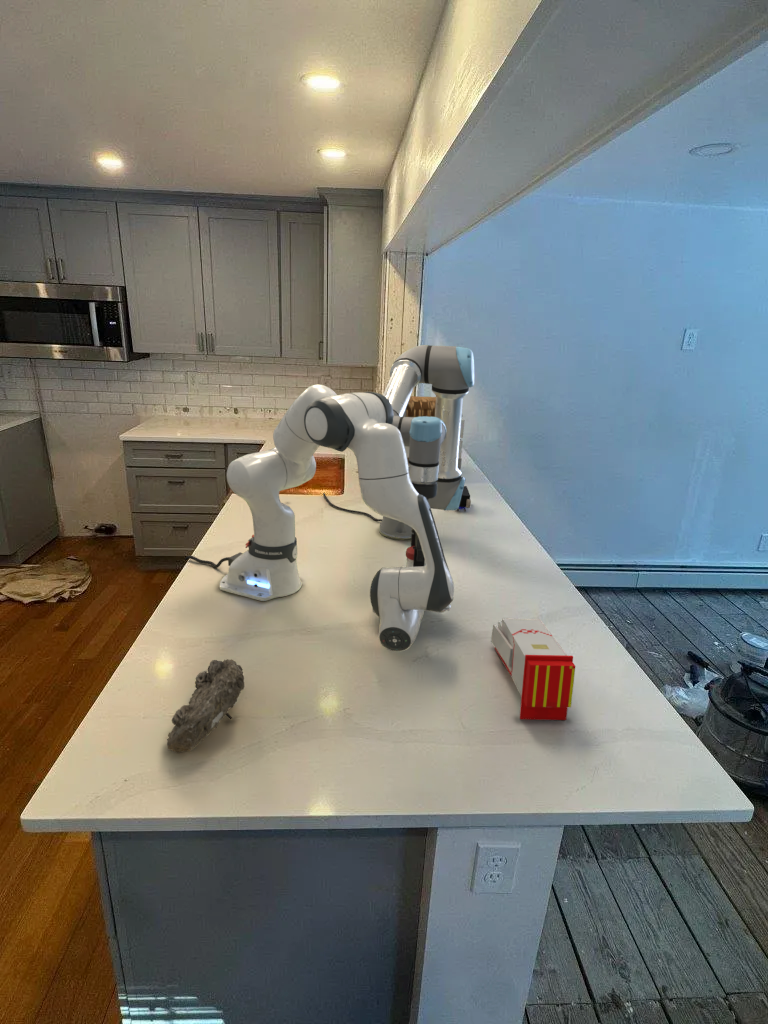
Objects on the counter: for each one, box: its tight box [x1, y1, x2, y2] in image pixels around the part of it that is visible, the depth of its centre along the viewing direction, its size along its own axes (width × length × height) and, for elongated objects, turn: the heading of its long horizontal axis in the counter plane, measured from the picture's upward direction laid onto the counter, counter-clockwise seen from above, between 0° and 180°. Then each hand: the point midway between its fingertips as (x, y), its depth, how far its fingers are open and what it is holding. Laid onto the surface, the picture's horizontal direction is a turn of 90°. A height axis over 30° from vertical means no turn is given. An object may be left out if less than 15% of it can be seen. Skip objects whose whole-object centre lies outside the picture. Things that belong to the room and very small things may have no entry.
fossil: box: [166, 658, 245, 754], centre depth 106 cm, size 22×10×15 cm
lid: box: [405, 545, 415, 560], centre depth 147 cm, size 6×6×2 cm
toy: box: [490, 617, 576, 721], centre depth 122 cm, size 12×13×30 cm
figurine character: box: [456, 485, 472, 513], centre depth 228 cm, size 7×8×15 cm
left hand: (415, 581), depth 151 cm, fingers closed on jar, 5 cm apart
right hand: (416, 563), depth 148 cm, fingers open, 8 cm apart
